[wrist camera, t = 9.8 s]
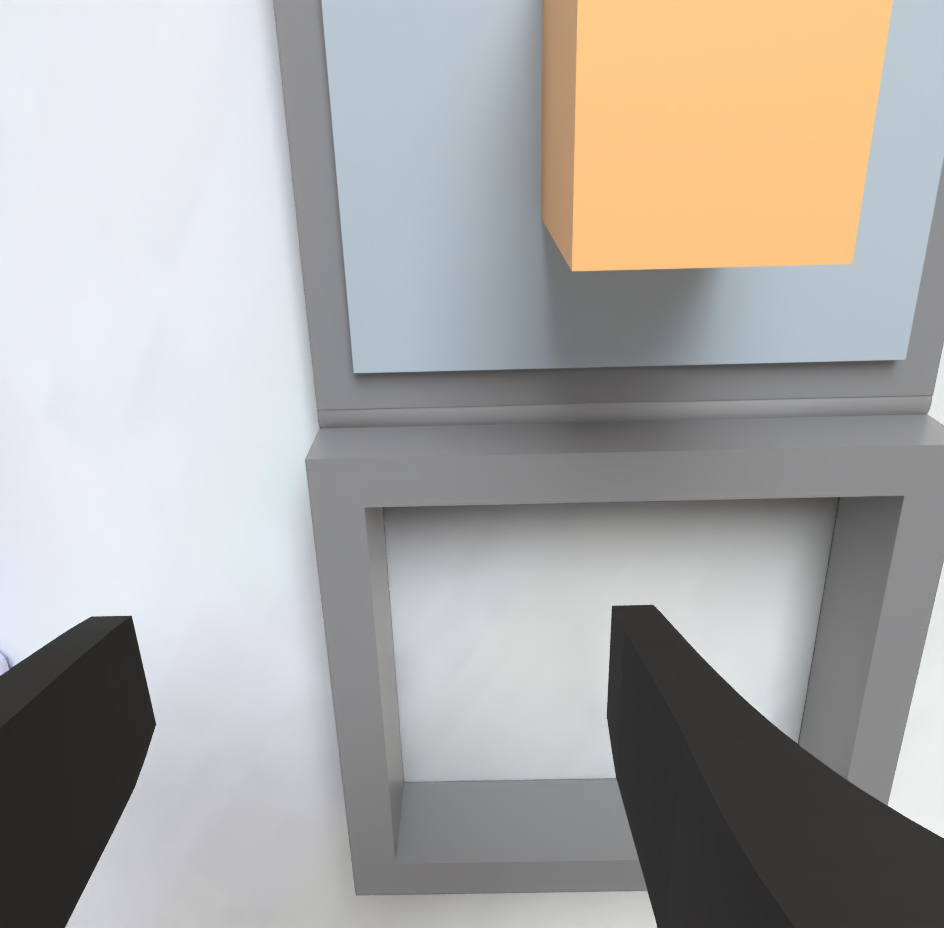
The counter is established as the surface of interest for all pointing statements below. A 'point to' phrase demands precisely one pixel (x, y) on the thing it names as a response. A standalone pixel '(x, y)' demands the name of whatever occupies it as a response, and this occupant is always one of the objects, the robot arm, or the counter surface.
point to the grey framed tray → (590, 399)
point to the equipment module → (708, 130)
